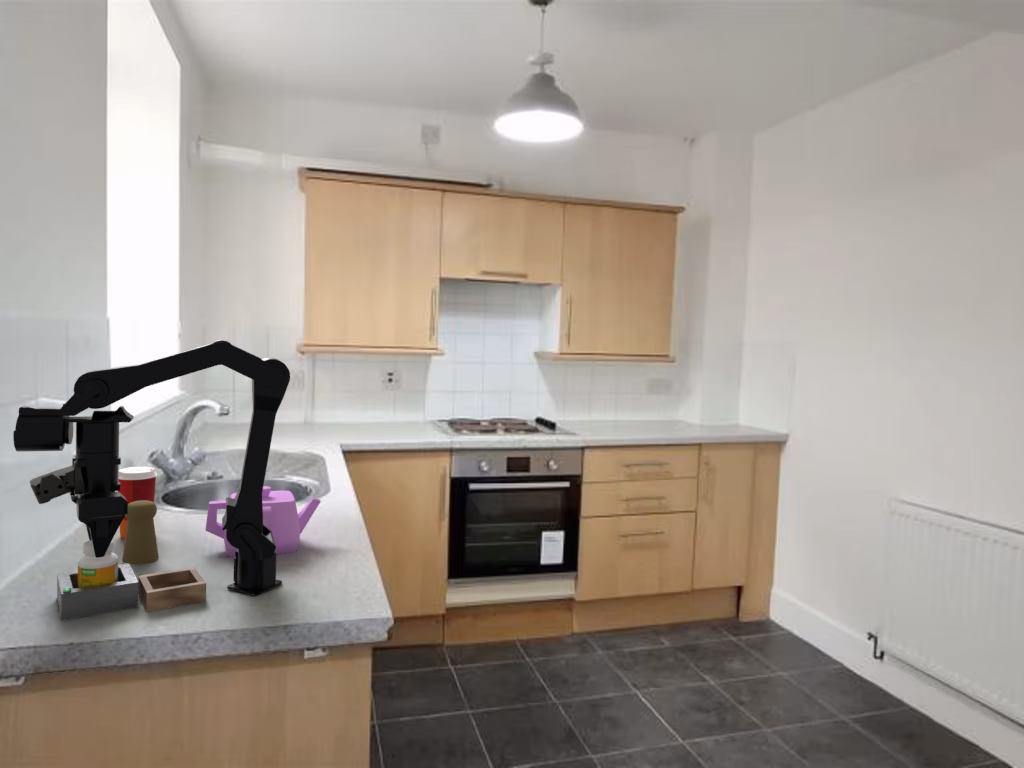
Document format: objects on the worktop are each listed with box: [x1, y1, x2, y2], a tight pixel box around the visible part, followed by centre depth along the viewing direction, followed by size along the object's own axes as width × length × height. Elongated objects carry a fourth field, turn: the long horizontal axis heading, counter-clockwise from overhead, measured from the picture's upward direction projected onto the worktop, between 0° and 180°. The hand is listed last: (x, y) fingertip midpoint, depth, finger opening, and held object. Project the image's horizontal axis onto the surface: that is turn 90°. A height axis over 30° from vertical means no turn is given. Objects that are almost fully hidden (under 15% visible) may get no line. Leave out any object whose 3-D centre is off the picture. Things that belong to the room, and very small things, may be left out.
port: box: [56, 563, 139, 621], centre depth 105 cm, size 10×10×4 cm
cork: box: [121, 500, 159, 565], centre depth 125 cm, size 6×6×11 cm
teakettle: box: [205, 485, 322, 558], centre depth 136 cm, size 17×17×12 cm
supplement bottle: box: [77, 539, 119, 588], centre depth 105 cm, size 5×5×10 cm
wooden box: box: [137, 567, 207, 613], centre depth 109 cm, size 8×8×3 cm
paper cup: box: [118, 466, 158, 540], centre depth 139 cm, size 8×8×14 cm
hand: (96, 548), depth 105 cm, fingers open, 9 cm apart
